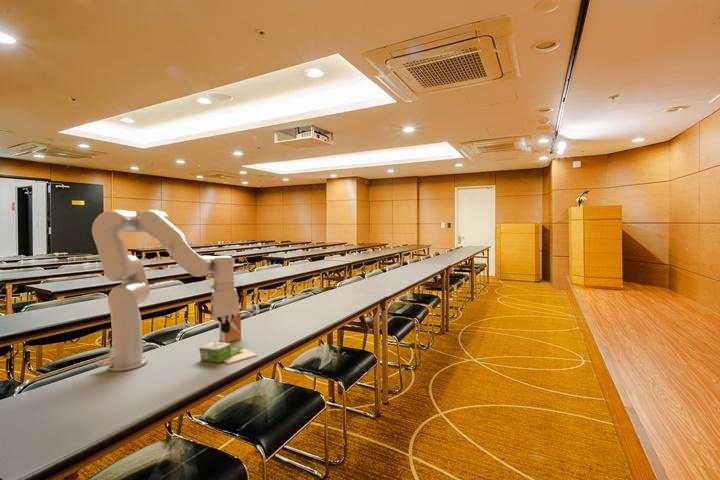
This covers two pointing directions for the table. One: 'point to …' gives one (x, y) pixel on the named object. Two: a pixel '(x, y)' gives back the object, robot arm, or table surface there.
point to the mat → (239, 356)
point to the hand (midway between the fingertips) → (225, 332)
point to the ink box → (217, 351)
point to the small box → (231, 330)
